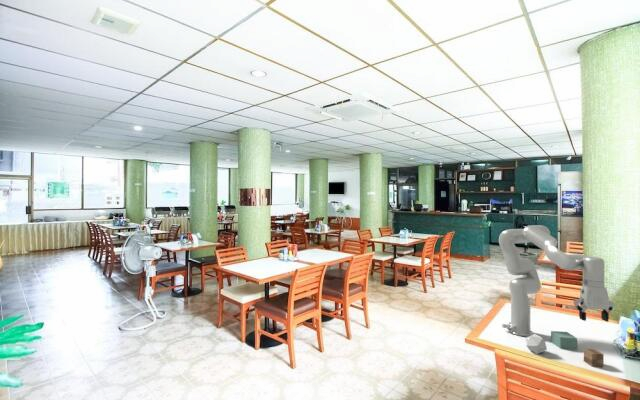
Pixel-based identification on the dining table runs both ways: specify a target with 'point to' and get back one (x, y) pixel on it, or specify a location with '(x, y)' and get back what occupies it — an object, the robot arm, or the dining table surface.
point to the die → (535, 344)
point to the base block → (563, 340)
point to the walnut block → (593, 357)
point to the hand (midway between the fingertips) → (593, 320)
